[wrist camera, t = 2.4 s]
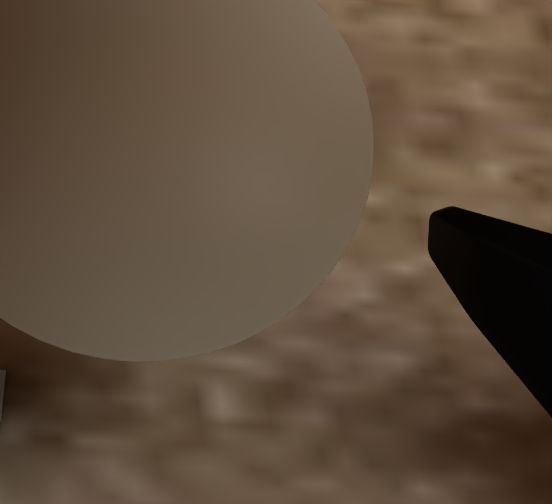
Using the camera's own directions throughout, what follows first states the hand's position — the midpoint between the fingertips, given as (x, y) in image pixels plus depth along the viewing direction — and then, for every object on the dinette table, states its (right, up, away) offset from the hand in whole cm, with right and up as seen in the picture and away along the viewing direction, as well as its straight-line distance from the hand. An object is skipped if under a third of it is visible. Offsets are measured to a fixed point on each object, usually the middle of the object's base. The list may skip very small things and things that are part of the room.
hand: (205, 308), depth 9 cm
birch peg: (-2, 0, +9) cm, 9 cm away
